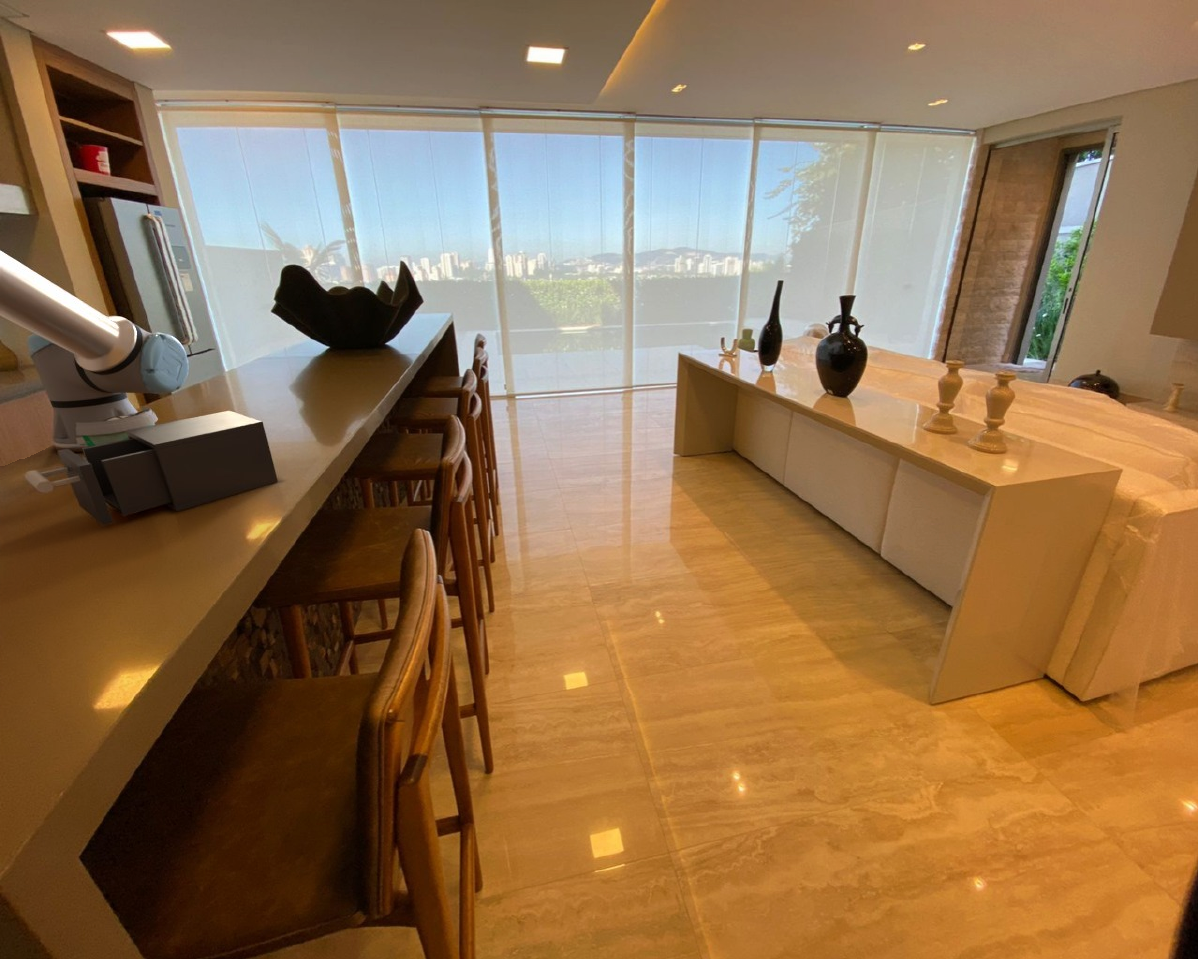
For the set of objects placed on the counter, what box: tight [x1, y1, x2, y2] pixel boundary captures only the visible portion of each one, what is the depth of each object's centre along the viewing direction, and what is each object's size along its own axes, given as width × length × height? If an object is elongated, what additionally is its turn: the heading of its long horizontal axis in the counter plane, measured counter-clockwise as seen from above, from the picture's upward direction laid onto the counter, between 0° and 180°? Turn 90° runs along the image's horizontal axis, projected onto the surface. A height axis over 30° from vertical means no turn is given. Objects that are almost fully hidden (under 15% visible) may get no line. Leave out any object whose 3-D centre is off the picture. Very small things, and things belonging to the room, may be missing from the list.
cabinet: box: [126, 410, 279, 513], centre depth 86 cm, size 15×13×11 cm
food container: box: [76, 406, 159, 447], centre depth 95 cm, size 12×6×10 cm, turn 168°
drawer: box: [24, 438, 172, 527], centre depth 78 cm, size 18×11×9 cm, turn 144°
